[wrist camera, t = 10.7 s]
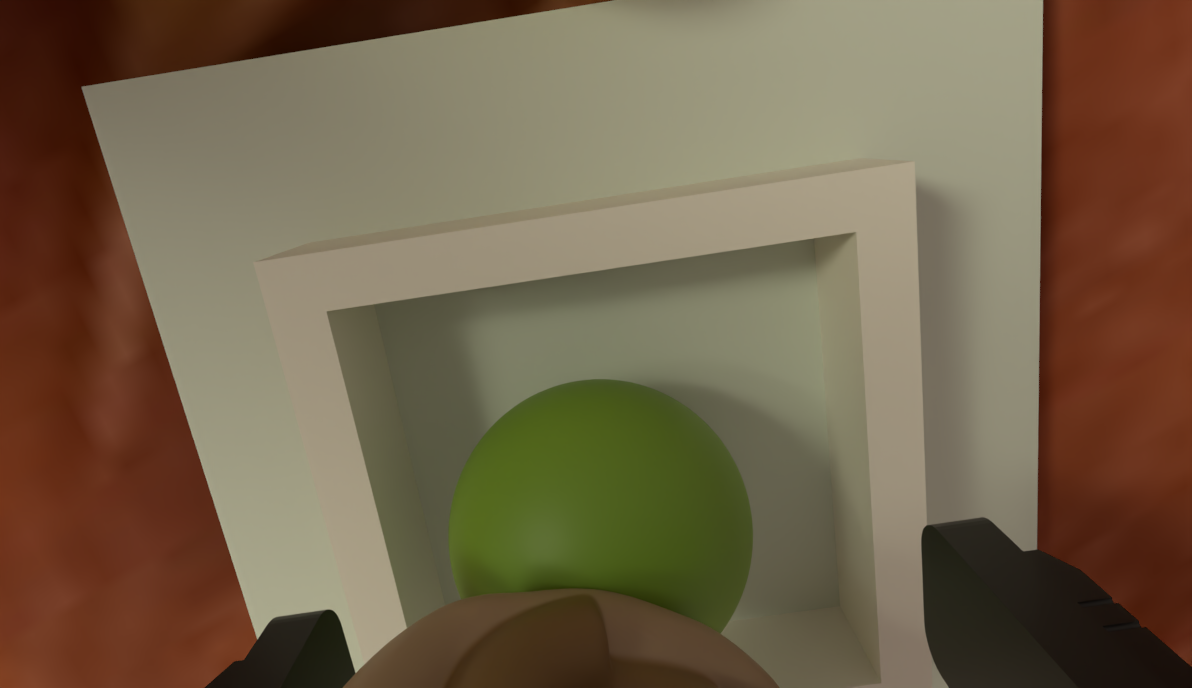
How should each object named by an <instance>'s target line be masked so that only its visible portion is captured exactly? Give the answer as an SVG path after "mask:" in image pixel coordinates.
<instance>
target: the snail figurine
mask: <svg viewBox="0 0 1192 688" xmlns="http://www.w3.org/2000/svg"><path fill="white" fill-rule="evenodd" d="M448 542H449V555H450V562H451V568H452V573H453V576H454V580H455V584H456V587H457V590H458V592H459V595H460V598H461V600H458V601H455V602H452V603H450V604H447V605H445V606H443V607H441V608H439V609H437V610H435V611H433V612H431V613H430V614H428V615H426V616H425V617H423V618H421V619H420V620H418V621H417V622H415V623H414V624H413V625H411V626H410V627H408V628H407V629H405V630H404V631H402V632H401V633H400V634H398V635H397V636H396V637H395V638H393V639H392V640H391V641H390V642H388V643H387V644H386V645H385V646H384V647H383V648H381V649H380V650H379V651H378V652H377V653H376V654H375V655H374V656H373V657H372V658H371V659H370V660H368V661H367V662H366V663H365V664H364V665H363V666H362V667H361V668H360V669H359V670H358V671H357V672H356V673H355V675H354V676H353V677H352V678H351V679H350V680H349V681H348V682H347V683H346V684H345V686H344V687H343V688H779V686H778V685H777V683H776V682H775V681H774V680H773V679H772V677H771V676H770V675H769V674H768V673H767V672H766V671H765V670H764V669H763V668H762V667H761V666H760V665H759V664H758V663H757V662H756V661H754V660H753V659H752V658H751V657H750V656H749V655H748V654H746V653H745V652H744V651H743V650H742V649H740V648H739V647H738V646H737V645H735V644H734V643H733V642H731V641H730V640H729V639H727V638H726V637H724V636H723V635H722V634H721V632H722V631H723V630H724V628H725V627H726V625H727V624H728V622H729V621H730V619H731V617H732V615H733V614H734V612H735V610H736V608H737V606H738V604H739V601H740V599H741V597H742V594H743V591H744V588H745V585H746V582H747V579H748V575H749V570H750V565H751V559H752V549H753V524H752V515H751V508H750V503H749V499H748V495H747V491H746V488H745V485H744V482H743V479H742V477H741V474H740V472H739V470H738V467H737V465H736V464H735V462H734V460H733V458H732V456H731V454H730V453H729V451H728V450H727V448H726V446H725V445H724V444H723V442H722V441H721V439H720V438H719V437H718V436H717V434H716V433H715V432H714V431H713V430H712V429H711V428H710V426H709V425H708V424H707V423H706V422H705V421H703V420H702V419H701V418H700V417H699V416H698V415H697V414H696V413H694V412H693V411H692V410H690V409H689V408H688V407H686V406H685V405H683V404H682V403H680V402H679V401H677V400H675V399H674V398H672V397H670V396H668V395H666V394H664V393H662V392H660V391H657V390H655V389H652V388H649V387H647V386H643V385H640V384H636V383H632V382H627V381H620V380H610V379H591V380H581V381H574V382H569V383H565V384H561V385H558V386H554V387H551V388H549V389H546V390H544V391H541V392H539V393H537V394H535V395H533V396H531V397H529V398H527V399H526V400H524V401H522V402H521V403H519V404H518V405H516V406H515V407H513V408H512V409H511V410H509V411H508V412H507V413H505V414H504V415H503V416H502V417H501V418H500V419H499V420H498V421H497V422H496V423H495V424H494V425H493V426H492V427H491V428H490V429H489V430H488V431H487V432H486V433H485V435H484V436H483V437H482V438H481V440H480V441H479V442H478V444H477V445H476V447H475V448H474V450H473V451H472V453H471V455H470V456H469V458H468V460H467V462H466V464H465V466H464V468H463V470H462V472H461V475H460V477H459V480H458V483H457V486H456V489H455V492H454V496H453V500H452V504H451V510H450V518H449V530H448Z"/></svg>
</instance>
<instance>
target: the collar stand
mask: <svg viewBox="0 0 1192 688" xmlns="http://www.w3.org/2000/svg"><path fill="white" fill-rule="evenodd" d="M1042 51H1043V0H613V1H607V2H601V3H594V4H588V5H582V6H576V7H570V8H564V9H557V10H551V11H545V12H539V13H533V14H527V15H520V16H514V17H508V18H502V19H496V20H490V21H484V22H477V23H471V24H465V25H459V26H453V27H447V28H440V29H434V30H428V31H422V32H416V33H410V34H403V35H397V36H391V37H385V38H379V39H373V40H366V41H360V42H354V43H348V44H342V45H336V46H329V47H323V48H317V49H311V50H305V51H299V52H293V53H286V54H280V55H274V56H268V57H262V58H256V59H249V60H243V61H237V62H231V63H225V64H219V65H212V66H206V67H200V68H194V69H188V70H182V71H175V72H169V73H163V74H157V75H151V76H145V77H138V78H132V79H126V80H120V81H114V82H108V83H102V84H95V85H89V86H83V87H81V88H82V91H83V94H84V97H85V100H86V103H87V106H88V110H89V113H90V116H91V119H92V122H93V125H94V128H95V132H96V135H97V138H98V141H99V144H100V147H101V150H102V154H103V157H104V160H105V163H106V166H107V169H108V172H109V175H110V179H111V182H112V185H113V188H114V191H115V194H116V197H117V201H118V204H119V207H120V210H121V213H122V216H123V219H124V223H125V226H126V229H127V232H128V235H129V238H130V241H131V244H132V248H133V251H134V254H135V257H136V260H137V263H138V266H139V270H140V273H141V276H142V279H143V282H144V285H145V288H146V292H147V295H148V298H149V301H150V304H151V307H152V310H153V313H154V317H155V320H156V323H157V326H158V329H159V332H160V335H161V339H162V342H163V345H164V348H165V351H166V354H167V357H168V361H169V364H170V367H171V370H172V373H173V376H174V379H175V382H176V386H177V389H178V392H179V395H180V398H181V401H182V404H183V408H184V411H185V414H186V417H187V420H188V423H189V426H190V430H191V433H192V436H193V439H194V442H195V445H196V448H197V451H198V455H199V458H200V461H201V464H202V467H203V470H204V473H205V477H206V480H207V483H208V486H209V489H210V492H211V495H212V499H213V502H214V505H215V508H216V511H217V514H218V517H219V520H220V524H221V527H222V530H223V533H224V536H225V539H226V542H227V546H228V549H229V552H230V555H231V558H232V561H233V564H234V568H235V571H236V574H237V577H238V580H239V583H240V586H241V589H242V593H243V596H244V599H245V602H246V605H247V608H248V611H249V615H250V618H251V621H252V624H253V627H254V630H255V633H256V637H257V640H258V638H259V637H260V635H261V634H262V632H263V630H264V629H265V627H266V626H267V624H268V623H269V622H270V621H271V620H272V619H273V618H275V617H279V616H286V615H293V614H300V613H307V612H313V611H320V610H328V609H330V610H333V611H334V612H335V613H336V614H337V616H338V617H339V620H340V622H341V625H342V628H343V632H344V635H345V639H346V642H347V646H348V649H349V652H350V656H351V659H352V663H353V666H354V670H355V673H356V672H357V671H358V670H359V669H360V668H361V667H362V666H363V665H364V664H365V663H366V662H367V661H368V660H370V659H371V658H372V657H373V656H374V655H375V654H376V653H377V652H378V651H379V650H380V649H381V648H383V647H384V646H385V645H386V644H387V643H388V642H390V641H391V640H392V639H393V638H395V637H396V636H397V635H398V634H400V633H401V632H402V631H404V630H405V629H407V628H408V627H410V626H411V625H413V624H414V623H415V622H417V621H418V620H420V619H421V618H423V617H425V616H426V615H428V614H430V613H431V612H433V611H435V610H437V609H439V608H441V607H443V606H445V605H447V604H450V603H452V602H455V601H458V600H461V598H460V595H459V592H458V590H457V587H456V584H455V580H454V576H453V573H452V568H451V562H450V555H449V542H448V530H449V518H450V510H451V504H452V500H453V496H454V492H455V489H456V486H457V483H458V480H459V477H460V475H461V472H462V470H463V468H464V466H465V464H466V462H467V460H468V458H469V456H470V455H471V453H472V451H473V450H474V448H475V447H476V445H477V444H478V442H479V441H480V440H481V438H482V437H483V436H484V435H485V433H486V432H487V431H488V430H489V429H490V428H491V427H492V426H493V425H494V424H495V423H496V422H497V421H498V420H499V419H500V418H501V417H502V416H503V415H504V414H505V413H507V412H508V411H509V410H511V409H512V408H513V407H515V406H516V405H518V404H519V403H521V402H522V401H524V400H526V399H527V398H529V397H531V396H533V395H535V394H537V393H539V392H541V391H544V390H546V389H549V388H551V387H554V386H558V385H561V384H565V383H569V382H574V381H581V380H591V379H610V380H620V381H627V382H632V383H636V384H640V385H643V386H647V387H649V388H652V389H655V390H657V391H660V392H662V393H664V394H666V395H668V396H670V397H672V398H674V399H675V400H677V401H679V402H680V403H682V404H683V405H685V406H686V407H688V408H689V409H690V410H692V411H693V412H694V413H696V414H697V415H698V416H699V417H700V418H701V419H702V420H703V421H705V422H706V423H707V424H708V425H709V426H710V428H711V429H712V430H713V431H714V432H715V433H716V434H717V436H718V437H719V438H720V439H721V441H722V442H723V444H724V445H725V446H726V448H727V450H728V451H729V453H730V454H731V456H732V458H733V460H734V462H735V464H736V465H737V467H738V470H739V472H740V474H741V477H742V479H743V482H744V485H745V488H746V491H747V495H748V499H749V503H750V508H751V515H752V524H753V549H752V559H751V565H750V570H749V575H748V579H747V582H746V585H745V588H744V591H743V594H742V597H741V599H740V601H739V604H738V606H737V608H736V610H735V612H734V614H733V615H732V617H731V619H730V621H729V622H728V624H727V625H726V627H725V628H724V630H723V631H722V632H721V634H722V635H723V636H724V637H726V638H727V639H729V640H730V641H731V642H733V643H734V644H735V645H737V646H738V647H739V648H740V649H742V650H743V651H744V652H745V653H746V654H748V655H749V656H750V657H751V658H752V659H753V660H754V661H756V662H757V663H758V664H759V665H760V666H761V667H762V668H763V669H764V670H765V671H766V672H767V673H768V674H769V675H770V676H771V677H772V679H773V680H774V681H775V682H776V683H777V685H778V686H779V688H949V687H948V686H947V684H946V683H945V681H944V679H943V678H942V676H941V675H940V673H939V671H938V669H937V667H936V665H935V663H934V660H933V658H932V655H931V652H930V649H929V646H928V642H927V638H926V633H925V626H924V605H923V578H922V552H921V536H922V531H923V529H924V527H925V526H926V525H931V524H938V523H945V522H952V521H959V520H966V519H973V518H980V517H984V518H987V519H989V520H990V521H992V522H993V523H994V524H995V525H996V526H997V527H998V528H999V529H1000V530H1001V531H1002V532H1003V533H1004V534H1005V535H1007V536H1008V537H1009V538H1010V539H1011V540H1012V541H1013V542H1014V543H1015V544H1016V545H1017V546H1018V547H1019V548H1020V549H1021V550H1022V551H1030V550H1037V504H1038V413H1039V323H1040V232H1041V142H1042Z"/></svg>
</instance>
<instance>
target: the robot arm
mask: <svg viewBox="0 0 1192 688" xmlns="http://www.w3.org/2000/svg"><path fill="white" fill-rule="evenodd" d="M921 552H922V578H923V605H924V626H925V633H926V638H927V642H928V646H929V649H930V652H931V655H932V658H933V660H934V663H935V665H936V667H937V669H938V671H939V673H940V675H941V676H942V678H943V679H944V681H945V683H946V684H947V686H948V687H949V688H1192V667H1191V666H1190V665H1188V664H1187V663H1186V662H1185V661H1184V660H1183V659H1182V658H1180V657H1179V656H1178V655H1177V654H1176V653H1175V652H1174V651H1172V650H1171V649H1170V648H1169V647H1168V646H1167V645H1166V644H1164V643H1163V642H1162V641H1161V640H1160V639H1159V638H1158V637H1156V636H1155V635H1154V634H1153V633H1152V632H1151V631H1150V630H1148V629H1147V628H1146V627H1144V628H1141V626H1140V625H1139V621H1138V620H1137V619H1136V618H1135V617H1134V616H1132V615H1131V614H1130V613H1129V612H1128V611H1127V610H1126V609H1124V608H1123V607H1122V606H1121V605H1120V604H1119V603H1116V604H1114V603H1113V601H1112V597H1111V596H1110V595H1108V594H1107V593H1106V592H1105V591H1104V590H1103V589H1102V588H1100V587H1099V586H1098V585H1097V584H1096V583H1095V582H1094V581H1092V580H1091V579H1090V578H1089V577H1088V576H1087V575H1086V574H1084V573H1083V572H1082V571H1081V570H1079V569H1077V568H1075V567H1073V566H1071V565H1069V564H1067V563H1065V562H1063V561H1061V560H1059V559H1057V558H1055V557H1053V556H1050V555H1048V554H1046V553H1044V552H1042V551H1040V550H1038V549H1037V550H1030V551H1022V550H1021V549H1020V548H1019V547H1018V546H1017V545H1016V544H1015V543H1014V542H1013V541H1012V540H1011V539H1010V538H1009V537H1008V536H1007V535H1005V534H1004V533H1003V532H1002V531H1001V530H1000V529H999V528H998V527H997V526H996V525H995V524H994V523H993V522H992V521H990V520H989V519H987V518H984V517H980V518H973V519H966V520H959V521H952V522H945V523H938V524H931V525H926V526H925V527H924V529H923V531H922V536H921ZM354 675H355V670H354V666H353V663H352V659H351V656H350V652H349V649H348V646H347V642H346V639H345V635H344V632H343V628H342V625H341V622H340V620H339V617H338V616H337V614H336V613H335V612H334V611H333V610H330V609H328V610H320V611H313V612H307V613H300V614H293V615H286V616H279V617H275V618H273V619H272V620H271V621H270V622H269V623H268V624H267V626H266V627H265V629H264V630H263V632H262V634H261V635H260V637H259V638H258V640H257V641H256V643H255V644H254V646H253V647H252V649H251V650H250V652H249V653H248V655H247V656H246V658H245V659H244V660H242V661H235V662H233V663H232V664H231V665H230V666H229V667H228V668H227V669H225V670H224V671H223V672H222V673H221V674H220V675H219V676H217V677H216V678H215V679H214V680H213V681H212V682H211V683H209V684H208V685H207V686H206V687H205V688H343V687H344V686H345V684H346V683H347V682H348V681H349V680H350V679H351V678H352V677H353V676H354Z"/></svg>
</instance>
